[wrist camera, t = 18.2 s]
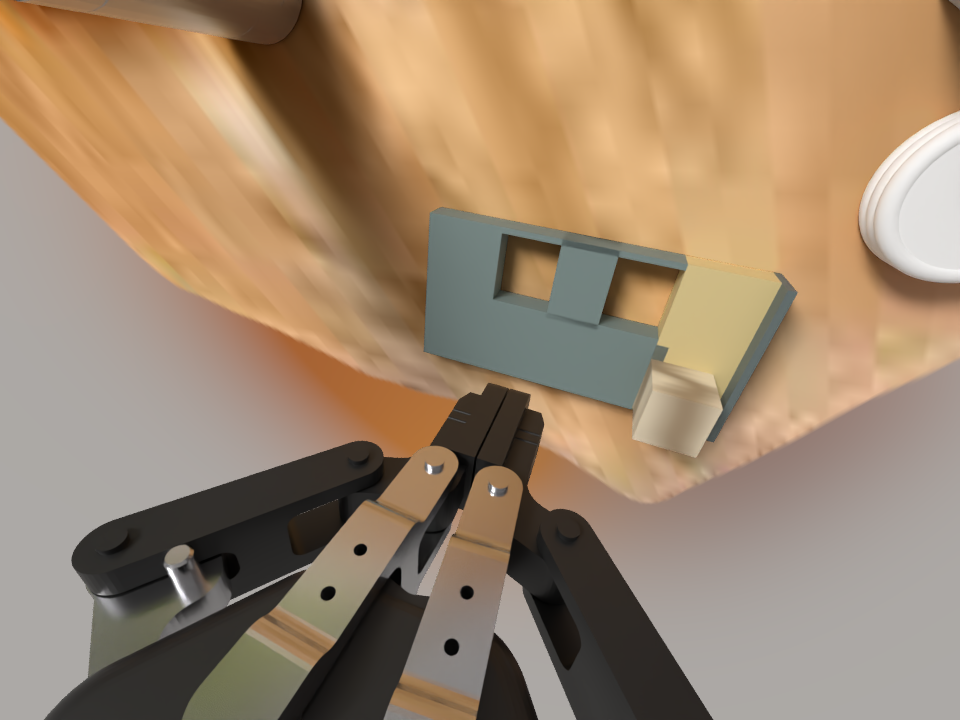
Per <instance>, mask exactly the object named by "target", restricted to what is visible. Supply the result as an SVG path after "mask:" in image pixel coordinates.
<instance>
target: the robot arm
mask: <svg viewBox="0 0 960 720" xmlns="http://www.w3.org/2000/svg"><path fill="white" fill-rule="evenodd" d="M16 1H20V2H26V3H32V4H37V5H43V6H49V7H54V8H60V9H66V10H71V11H77V12H84V13H90V14H95V15H101V16H107V17H112V18H118V19H124V20H129V21H135V22H140V23H146V24H152V25H157V26H163V27H168V28H174V29H180V30H185V31H191V32H197V33H202V34H208V35H213V36H219V37H223V38H229V39H235V40H240V41H246V42H252V43H258V44H265V45H268V44H274V43H277V42H279V41H281V40H282V39H284V38H285V37H286V36H287V35H288V34H289V33H290V32H291V31H292V29H293V27H294V25H295V23H296V21H297V19H298V16H299V13H300V9H301V4H302V0H16ZM530 396H531V394H527V393H524V392H520V391H516V390H513V389H510V390H509V388H506V387H502V386H499V385H495V384H492V383H488V384H487V386H486V388H485V389H484V391H483V393H482V395H478V394H474V393H471V392H470V393H469V394H467V395H465V396H464V397H462V398H460V399H459V401H458V402H457V404H456V405H455V407H454V409H453V410H452V412H451V413H450V415H449V417H448V418H447V420H446V421H445V423H444V424H443V426H442V427H441V429H440V431H439V432H438V434H437V436H436V437H435V438H434V440H433V442H432V443H431V445H430V446H428V447H424V448H422V449H420V450H418V451H417V452H416V453H415V454H414V455H413V456H412V457H409V458H392V457H384V456H383V452H382V450H381V448H380V447H379V446H377V445H376V444H374V443H372V442H368V441H355V442H351V443H348V444H345V445H342V446H339V447H336V448H333V449H330V450H327V451H324V452H320V453H317V454H315V455H312V456H308V457H305V458H302V459H299V460H296V461H293V462H290V463H287V464H284V465H281V466H278V467H275V468H272V469H269V470H266V471H262V472H259V473H256V474H253V475H250V476H247V477H244V478H241V479H238V480H235V481H232V482H229V483H226V484H223V485H220V486H217V487H213V488H211V489H207V490H205V491H201V492H198V493H195V494H192V495H189V496H186V497H183V498H180V499H177V500H174V501H171V502H168V503H165V504H161V505H158V506H155V507H152V508H149V509H146V510H143V511H140V512H137V513H134V514H131V515H128V516H125V517H122V518H119V519H116V520H113V521H110V522H108V523H106V524H103V525H101V526H100V527H98V528H97V529H95V530H93V531H92V532H90V533H89V534H88V535H87V536H86V537H84V539H83V540H82V541H81V542H80V543H79V544H78V545H77V547H76V549H75V550H74V552H73V555H72V566H73V567H74V569H75V570H76V572H77V573H78V574H79V576H80V577H81V579H82V580H83V581H84V583H85V584H86V589H87V591H88V592H89V594H90V595H91V596H92V598H93V599H94V607H93V620H92V632H91V633H92V634H91V645H90V658H89V671H88V678H87V679H86V680H85V681H83V682H82V683H81V684H80V685H78V686H77V687H76V688H75V689H73V690H72V691H71V692H70V693H69V694H68V695H67V696H66V697H65V698H63V699H62V700H61V701H60V703H59V704H58V705H57V706H56V707H55V708H54V709H53V710H52V711H51V712H50V713H49V714H48V715H47V717H46V718H45V719H44V720H538V718H537V715H536V712H535V709H534V706H533V703H532V700H531V697H530V694H529V691H528V688H527V685H526V682H525V679H524V676H523V674H522V671H521V669H520V667H519V665H518V663H517V661H516V659H515V658H514V656H513V654H512V653H511V651H510V650H509V648H508V647H507V646H506V644H505V643H504V642H503V641H502V640H501V639H500V638H499V637H498V636H497V635H496V634H495V633H494V629H495V624H496V619H497V614H498V610H499V605H500V600H501V595H502V590H503V585H504V580H505V576H506V573H507V574H508V575H509V576H510V577H512V578H513V579H514V580H515V581H517V582H518V583H519V584H520V585H522V586H523V594H524V597H525V599H526V602H527V604H528V606H529V609H530V611H531V613H532V615H533V618H534V620H535V623H536V625H537V627H538V630H539V632H540V635H541V637H542V639H543V642H544V644H545V646H546V649H547V651H548V653H549V656H550V658H551V661H552V663H553V665H554V667H555V670H556V672H557V675H558V677H559V679H560V682H561V684H562V686H563V689H564V691H565V694H566V696H567V698H568V701H569V703H570V705H571V708H572V710H573V712H574V715H575V717H576V719H577V720H713V719H712V717H711V716H710V714H709V712H708V711H707V709H706V708H705V706H704V704H703V703H702V701H701V700H700V698H699V697H698V695H697V693H696V692H695V690H694V689H693V687H692V686H691V684H690V682H689V681H688V679H687V678H686V676H685V674H684V673H683V671H682V670H681V668H680V667H679V665H678V664H677V662H676V660H675V659H674V657H673V656H672V654H671V652H670V651H669V649H668V648H667V646H666V644H665V643H664V641H663V640H662V638H661V637H660V635H659V634H658V632H657V630H656V629H655V627H654V626H653V624H652V622H651V621H650V620H649V618H648V616H647V614H646V613H645V611H644V610H643V608H642V607H641V605H640V604H639V602H638V600H637V599H636V597H635V596H634V594H633V592H632V591H631V589H630V588H629V586H628V584H627V583H626V581H625V580H624V578H623V577H622V575H621V574H620V572H619V570H618V569H617V567H616V566H615V564H614V563H613V561H612V559H611V558H610V556H609V555H608V553H607V551H606V550H605V548H604V547H603V545H602V544H601V542H600V540H599V539H598V537H597V536H596V534H595V532H594V531H593V529H592V528H591V526H590V525H589V524H588V522H587V521H586V520H585V519H584V518H583V517H581V516H580V515H579V514H577V513H575V512H573V511H570V510H565V509H556V510H552V511H548V510H547V509H545V508H543V507H542V506H541V505H540V504H538V503H537V502H536V501H535V500H534V499H533V497H532V496H531V494H530V493H529V490H528V487H527V485H528V481H529V478H530V475H531V472H532V468H533V465H534V462H535V458H536V455H537V451H538V447H539V443H540V439H541V435H542V432H543V428H544V421H543V418H542V414H541V413H539V412H536V411H533V410H529V409H528V406H529V401H530ZM337 499H338V500H337ZM332 501H333V502H332ZM327 503H328V504H327ZM324 504H325V505H324ZM322 505H323V506H322ZM319 506H320V507H319ZM317 507H318V508H317ZM314 508H315V509H314ZM458 508H459V509H462V510H463V513H462V516H461V519H460V522H459V525H458V527H457V530H456V533H455V534H453V535H452V537H451V538H450V541H449V544H448V547H447V549H446V552H445V555H444V558H443V561H442V563H441V566H440V569H439V572H438V575H437V577H436V580H435V583H434V586H433V589H432V592H431V595H430V597H429V596H421V595H416V594H417V591H418V588H419V586H420V583H421V581H422V579H423V577H424V576H425V574H426V572H427V570H428V569H429V567H430V565H431V563H432V561H433V560H434V558H435V556H436V554H437V553H438V551H439V549H440V547H441V545H442V544H443V541H444V540H445V538H446V536H447V534H448V533H449V531H450V529H451V524H452V521H453V519H454V517H455V515H456V513H457V510H458ZM309 510H310V511H309ZM306 511H307V512H306ZM304 512H305V513H304ZM301 513H302V514H301ZM299 514H300V515H299ZM310 563H312V564H311V565H310V566H309V568H308V569H307V570H303V571H301V572H298V573H295V574H293V575H291V576H288V577H286V578H284V579H282V580H280V581H278V582H276V583H275V584H273V585H270V586H268V587H266V588H264V589H262V590H260V591H258V592H256V593H254V594H252V595H250V596H248V597H246V598H244V599H242V600H240V601H238V602H236V603H234V604H232V605H229V606H227V605H228V603H229V601H230V600H231V599H233V598H236V597H238V596H240V595H242V594H244V593H247V592H248V591H251V590H253V589H255V588H257V587H260V586H262V585H264V584H266V583H269V582H271V581H273V580H275V579H277V578H280V577H282V576H284V575H286V574H288V573H291V572H293V571H295V570H297V569H299V568H302V567H304V566H306V565H308V564H310ZM226 606H227V607H226Z"/></svg>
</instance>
